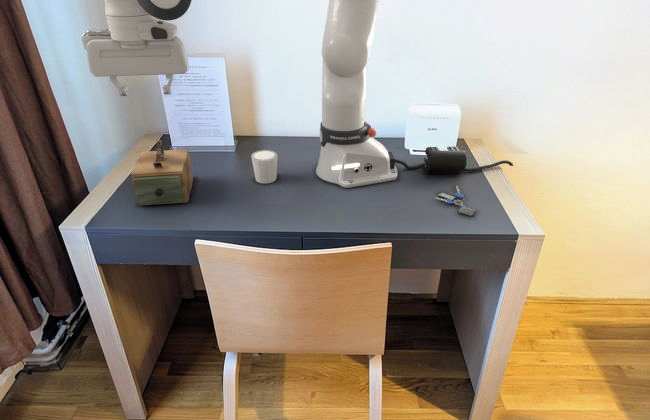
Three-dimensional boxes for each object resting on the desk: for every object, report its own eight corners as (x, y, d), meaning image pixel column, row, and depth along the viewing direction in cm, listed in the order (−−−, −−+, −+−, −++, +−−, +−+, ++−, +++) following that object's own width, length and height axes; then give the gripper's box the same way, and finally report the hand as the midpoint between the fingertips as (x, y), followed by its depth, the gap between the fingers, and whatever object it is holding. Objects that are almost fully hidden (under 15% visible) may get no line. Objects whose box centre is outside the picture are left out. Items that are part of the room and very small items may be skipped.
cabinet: (188, 202, 106) (182, 171, 101) (138, 205, 104) (130, 174, 100) (193, 178, 116) (188, 149, 112) (148, 181, 115) (141, 151, 110)
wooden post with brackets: (166, 149, 109) (162, 137, 105) (165, 174, 105) (160, 162, 101) (159, 150, 109) (154, 137, 105) (157, 174, 104) (152, 162, 101)
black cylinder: (428, 178, 117) (431, 155, 113) (421, 167, 123) (424, 145, 119) (464, 177, 117) (468, 155, 114) (455, 166, 123) (460, 144, 120)
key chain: (478, 216, 101) (479, 213, 100) (444, 218, 100) (445, 215, 100) (457, 187, 112) (458, 184, 112) (426, 188, 112) (427, 186, 111)
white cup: (248, 182, 115) (246, 158, 111) (260, 171, 120) (258, 148, 116) (271, 186, 113) (270, 162, 109) (282, 175, 118) (281, 151, 114)
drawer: (183, 204, 103) (178, 179, 99) (138, 207, 102) (131, 182, 98) (189, 179, 114) (185, 156, 110) (148, 182, 112) (143, 158, 109)
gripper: (73, 32, 85) (93, 100, 93) (180, 30, 88) (190, 97, 95) (84, 27, 91) (101, 92, 98) (184, 25, 93) (193, 88, 101)
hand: (146, 94), depth 97 cm, fingers open, 8 cm apart
